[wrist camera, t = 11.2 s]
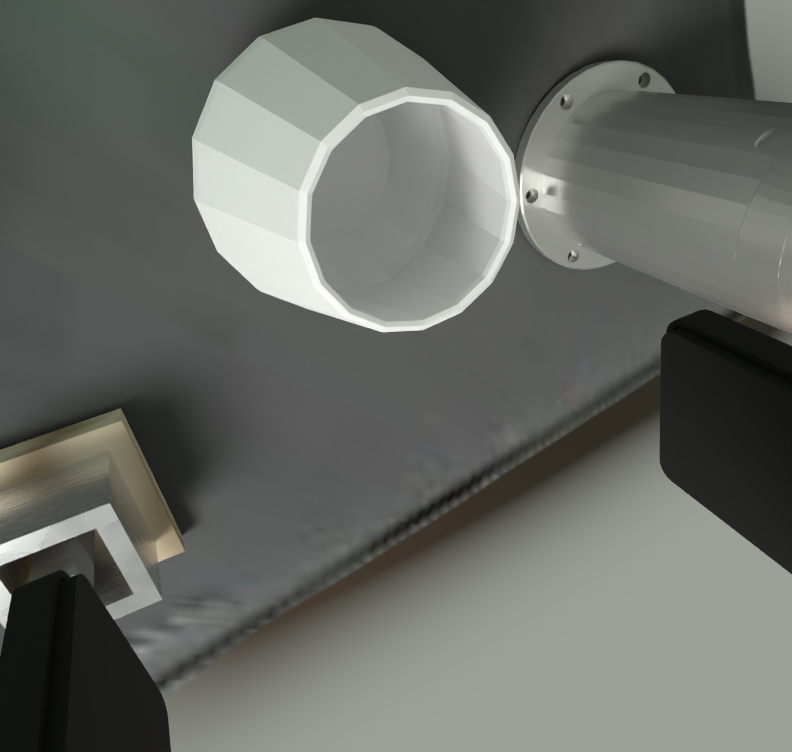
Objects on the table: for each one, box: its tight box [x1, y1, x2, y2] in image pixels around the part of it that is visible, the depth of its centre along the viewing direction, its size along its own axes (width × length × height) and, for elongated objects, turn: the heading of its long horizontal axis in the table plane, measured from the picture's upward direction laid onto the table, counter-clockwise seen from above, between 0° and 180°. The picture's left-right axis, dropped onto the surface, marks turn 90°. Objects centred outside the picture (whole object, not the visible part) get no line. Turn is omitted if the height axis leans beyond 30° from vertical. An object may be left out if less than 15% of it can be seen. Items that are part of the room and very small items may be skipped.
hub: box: [0, 450, 162, 629], centre depth 34 cm, size 7×7×5 cm
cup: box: [192, 18, 521, 332], centre depth 29 cm, size 13×13×14 cm
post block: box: [0, 408, 185, 589], centre depth 35 cm, size 10×10×8 cm
